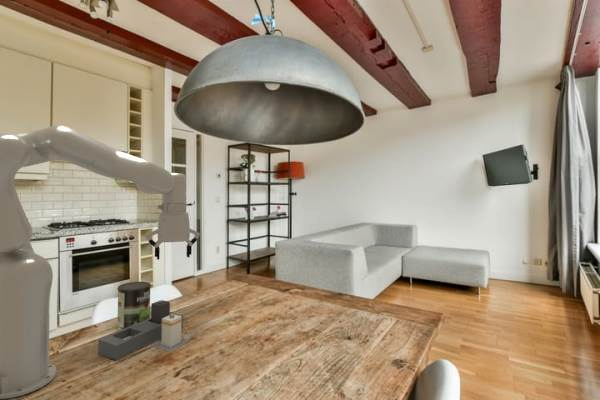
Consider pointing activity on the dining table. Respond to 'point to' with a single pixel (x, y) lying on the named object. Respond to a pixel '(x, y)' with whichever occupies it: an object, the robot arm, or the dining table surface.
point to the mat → (172, 346)
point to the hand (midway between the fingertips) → (173, 257)
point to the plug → (171, 330)
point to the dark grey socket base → (130, 339)
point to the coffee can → (133, 303)
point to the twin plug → (159, 311)
